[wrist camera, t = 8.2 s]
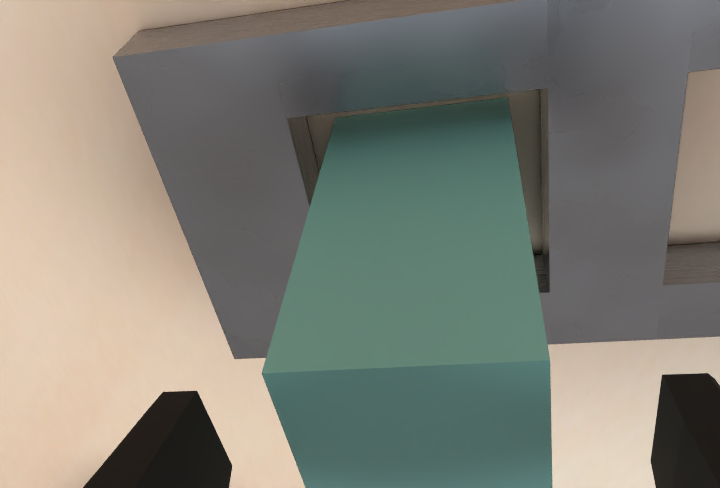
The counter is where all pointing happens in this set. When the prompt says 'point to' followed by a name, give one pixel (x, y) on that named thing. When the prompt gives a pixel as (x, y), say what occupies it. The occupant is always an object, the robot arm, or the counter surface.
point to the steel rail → (426, 84)
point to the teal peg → (416, 310)
